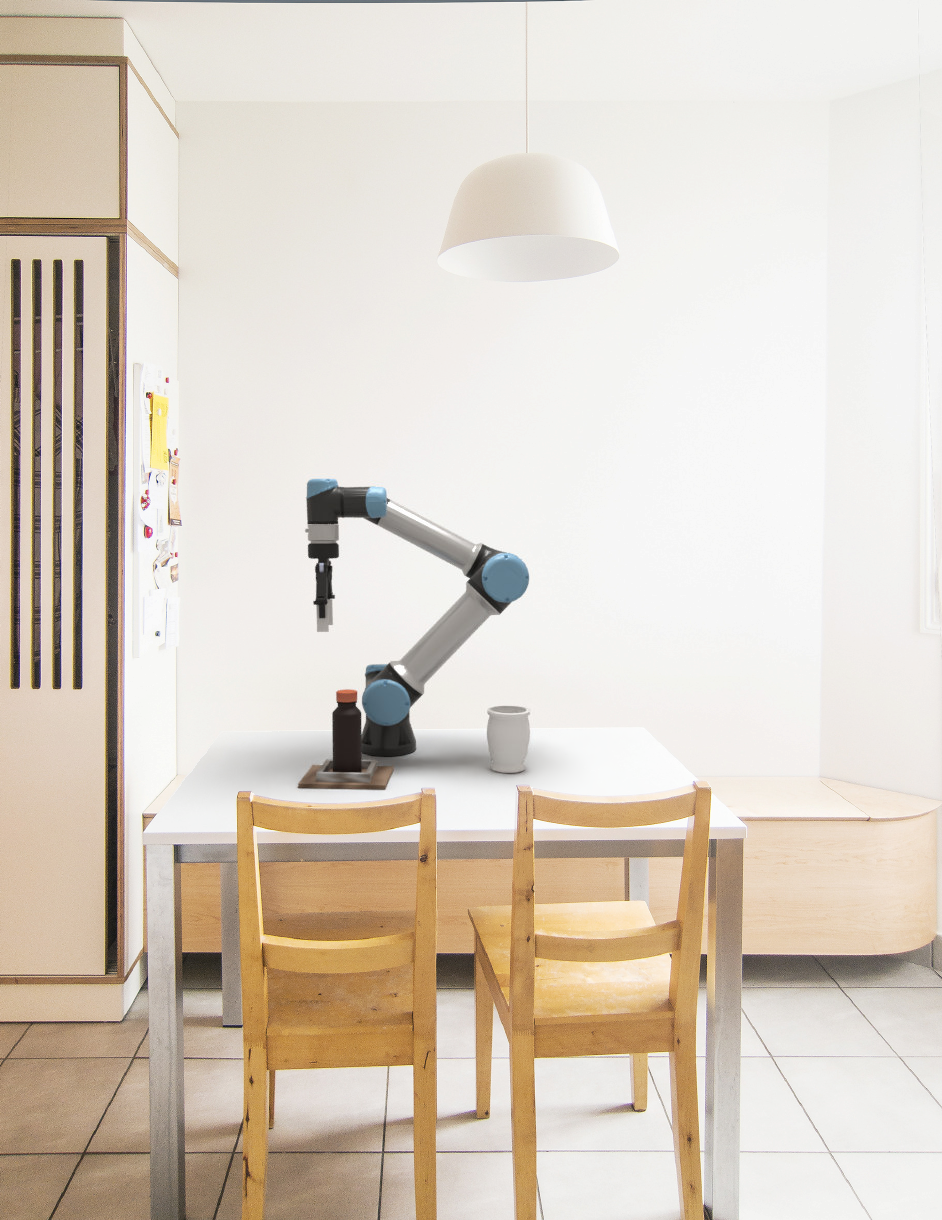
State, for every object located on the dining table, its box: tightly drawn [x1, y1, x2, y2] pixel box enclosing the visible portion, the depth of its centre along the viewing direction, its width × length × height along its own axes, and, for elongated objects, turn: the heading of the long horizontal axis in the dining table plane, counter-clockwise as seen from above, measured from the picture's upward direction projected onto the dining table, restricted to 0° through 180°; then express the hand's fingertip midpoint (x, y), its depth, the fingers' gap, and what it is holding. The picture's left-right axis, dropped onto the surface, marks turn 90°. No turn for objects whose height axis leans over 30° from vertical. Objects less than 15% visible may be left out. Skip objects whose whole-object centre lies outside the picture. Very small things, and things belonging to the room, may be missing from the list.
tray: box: [297, 758, 395, 791], centre depth 218 cm, size 20×16×3 cm
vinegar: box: [331, 688, 363, 773], centre depth 218 cm, size 7×7×20 cm
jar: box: [486, 705, 531, 774], centre depth 227 cm, size 11×10×15 cm
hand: (325, 628), depth 228 cm, fingers open, 13 cm apart
